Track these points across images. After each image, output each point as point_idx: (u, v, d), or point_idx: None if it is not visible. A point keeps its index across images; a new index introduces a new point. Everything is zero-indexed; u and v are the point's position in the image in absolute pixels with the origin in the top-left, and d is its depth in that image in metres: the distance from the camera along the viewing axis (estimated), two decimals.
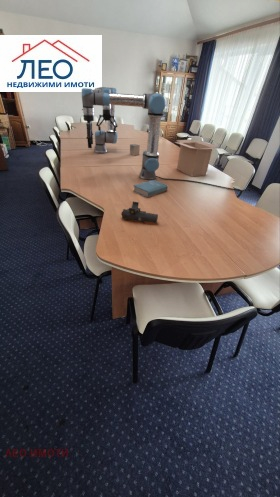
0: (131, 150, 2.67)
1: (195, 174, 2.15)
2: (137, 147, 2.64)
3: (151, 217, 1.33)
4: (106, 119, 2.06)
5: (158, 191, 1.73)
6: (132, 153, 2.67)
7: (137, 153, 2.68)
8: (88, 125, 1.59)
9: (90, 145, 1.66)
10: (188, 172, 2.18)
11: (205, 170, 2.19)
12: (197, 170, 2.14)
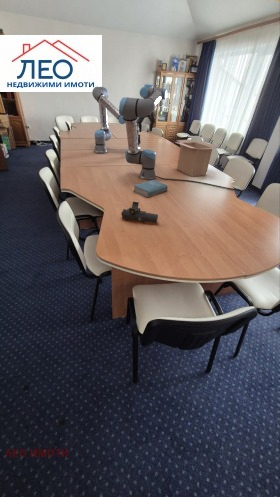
0: None
1: (195, 174, 2.15)
2: None
3: (151, 217, 1.33)
4: None
5: (158, 191, 1.73)
6: None
7: None
8: None
9: (140, 129, 2.08)
10: (188, 172, 2.18)
11: (205, 170, 2.19)
12: (197, 170, 2.14)
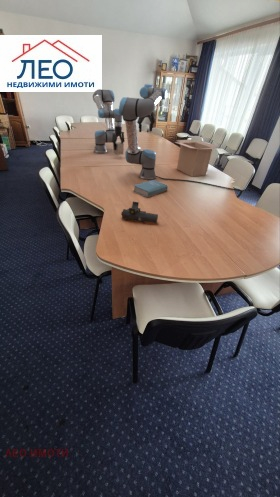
0: None
1: (195, 174, 2.15)
2: (121, 146, 2.40)
3: (151, 217, 1.33)
4: None
5: (158, 191, 1.73)
6: (116, 152, 2.43)
7: (121, 152, 2.44)
8: None
9: (140, 129, 2.08)
10: (188, 172, 2.18)
11: (205, 170, 2.19)
12: (197, 170, 2.14)
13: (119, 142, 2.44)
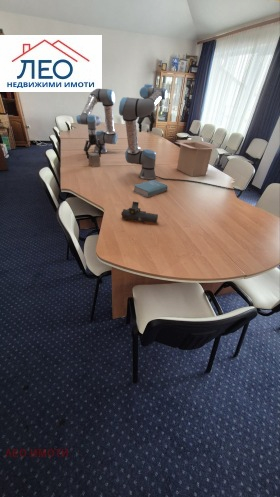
0: (89, 161, 2.21)
1: (195, 174, 2.15)
2: (96, 157, 2.18)
3: (151, 217, 1.33)
4: None
5: (158, 191, 1.73)
6: (91, 164, 2.21)
7: (96, 164, 2.22)
8: None
9: (140, 129, 2.08)
10: (188, 172, 2.18)
11: (205, 170, 2.19)
12: (197, 170, 2.14)
13: (95, 153, 2.22)
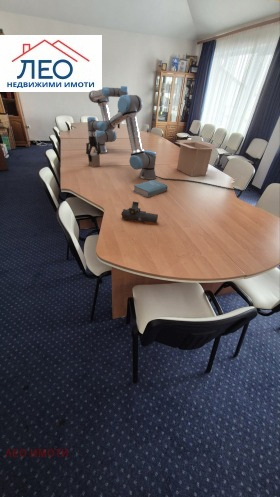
0: (89, 161, 2.21)
1: (195, 174, 2.15)
2: (96, 157, 2.18)
3: (151, 217, 1.33)
4: None
5: (158, 191, 1.73)
6: (91, 164, 2.21)
7: (96, 164, 2.22)
8: (86, 144, 2.10)
9: (90, 159, 2.19)
10: (188, 172, 2.18)
11: (205, 170, 2.19)
12: (197, 170, 2.14)
13: (95, 153, 2.22)
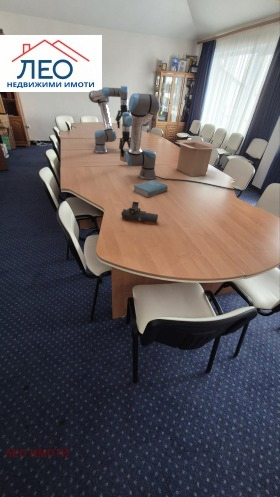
0: (121, 156, 2.24)
1: (195, 174, 2.15)
2: None
3: (151, 217, 1.33)
4: None
5: (158, 191, 1.73)
6: (123, 159, 2.24)
7: None
8: (120, 139, 2.12)
9: (122, 154, 2.21)
10: (188, 172, 2.18)
11: (205, 170, 2.19)
12: (197, 170, 2.14)
13: (126, 148, 2.25)
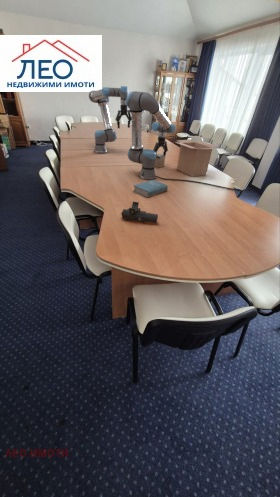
0: (155, 161, 2.34)
1: (195, 174, 2.15)
2: (162, 158, 2.31)
3: (151, 217, 1.33)
4: None
5: (158, 191, 1.73)
6: (156, 165, 2.34)
7: (162, 164, 2.35)
8: (156, 143, 2.21)
9: None
10: (188, 172, 2.18)
11: (205, 170, 2.19)
12: (197, 170, 2.14)
13: (160, 154, 2.35)
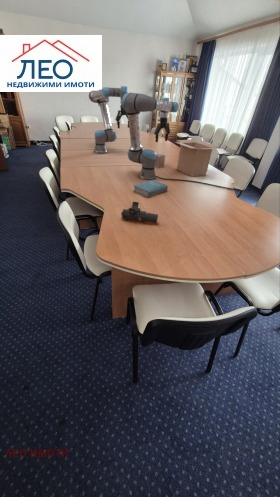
0: (155, 161, 2.34)
1: (195, 174, 2.15)
2: (162, 158, 2.31)
3: (151, 217, 1.33)
4: None
5: (158, 191, 1.73)
6: (156, 165, 2.34)
7: (162, 164, 2.35)
8: (158, 124, 2.11)
9: (156, 140, 2.19)
10: (188, 172, 2.18)
11: (205, 170, 2.19)
12: (197, 170, 2.14)
13: (160, 154, 2.35)
